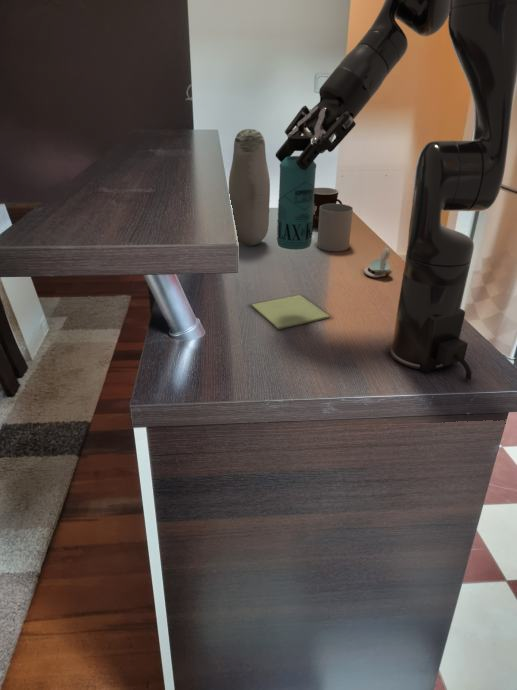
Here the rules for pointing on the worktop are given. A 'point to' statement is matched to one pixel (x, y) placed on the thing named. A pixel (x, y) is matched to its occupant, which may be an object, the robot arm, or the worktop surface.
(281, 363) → the worktop surface
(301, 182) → the beverage bottle
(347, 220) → the cup
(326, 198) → the coffee mug
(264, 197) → the grey rounded tall figure
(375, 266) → the pacifier
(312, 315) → the pad
